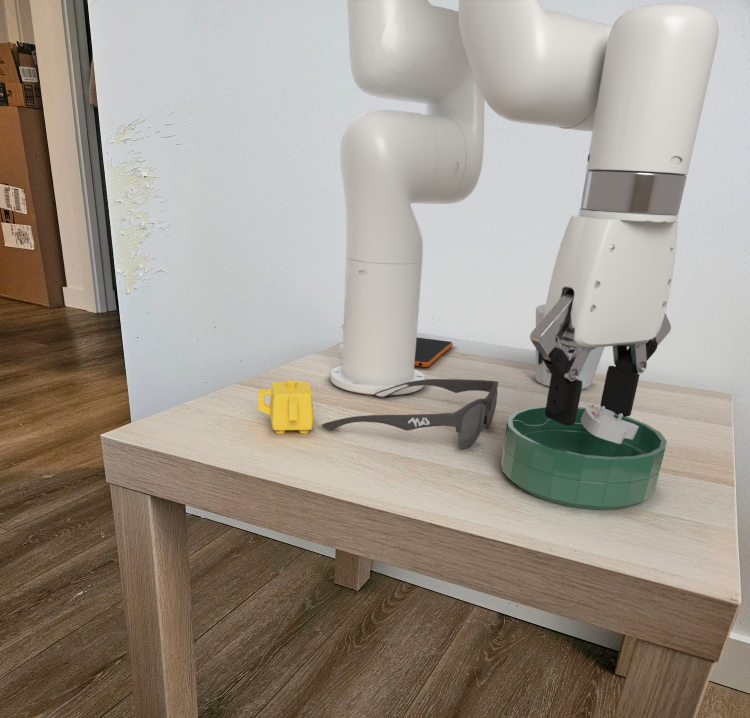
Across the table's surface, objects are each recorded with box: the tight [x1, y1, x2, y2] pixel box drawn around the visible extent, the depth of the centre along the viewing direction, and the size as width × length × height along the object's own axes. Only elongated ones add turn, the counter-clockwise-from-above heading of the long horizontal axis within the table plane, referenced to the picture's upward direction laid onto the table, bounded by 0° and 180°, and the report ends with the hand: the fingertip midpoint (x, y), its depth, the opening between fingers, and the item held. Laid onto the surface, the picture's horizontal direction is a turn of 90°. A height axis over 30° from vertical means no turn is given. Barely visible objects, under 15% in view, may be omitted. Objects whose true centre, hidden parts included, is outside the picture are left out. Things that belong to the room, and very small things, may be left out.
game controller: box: [500, 404, 639, 444], centre depth 59 cm, size 6×12×3 cm, turn 103°
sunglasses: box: [321, 378, 499, 450], centre depth 75 cm, size 16×17×5 cm
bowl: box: [500, 405, 668, 510], centre depth 63 cm, size 14×14×5 cm
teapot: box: [257, 379, 314, 435], centre depth 71 cm, size 8×6×5 cm
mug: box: [535, 303, 605, 390], centre depth 95 cm, size 10×15×10 cm
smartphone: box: [414, 336, 454, 368], centre depth 106 cm, size 8×17×1 cm, turn 161°
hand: (587, 414), depth 61 cm, fingers closed on game controller, 6 cm apart
